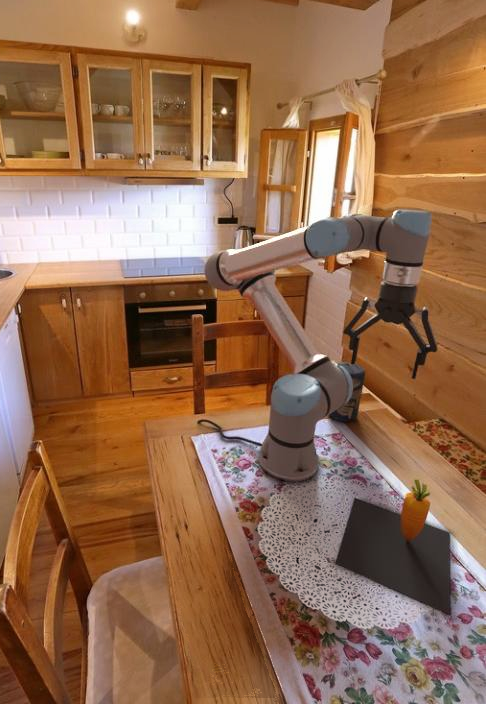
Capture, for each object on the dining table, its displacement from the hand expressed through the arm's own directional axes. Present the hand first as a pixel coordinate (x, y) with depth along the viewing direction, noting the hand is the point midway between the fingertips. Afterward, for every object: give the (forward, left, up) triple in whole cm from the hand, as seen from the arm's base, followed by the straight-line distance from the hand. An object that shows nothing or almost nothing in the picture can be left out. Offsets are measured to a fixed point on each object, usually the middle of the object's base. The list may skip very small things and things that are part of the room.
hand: (382, 369), depth 97 cm
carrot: (+12, -19, -29) cm, 37 cm away
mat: (+10, -22, -29) cm, 38 cm away
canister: (-10, +23, -29) cm, 38 cm away
